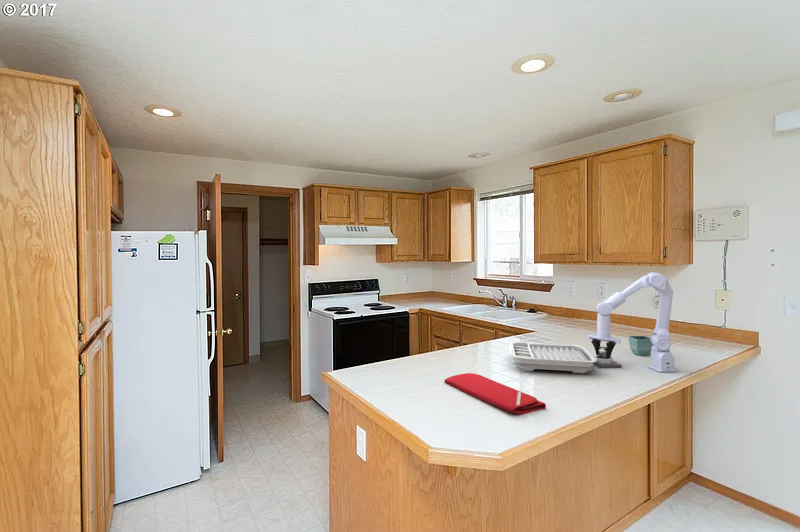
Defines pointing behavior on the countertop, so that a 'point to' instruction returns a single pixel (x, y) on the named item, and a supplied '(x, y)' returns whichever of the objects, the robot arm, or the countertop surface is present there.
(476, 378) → the red folded towel
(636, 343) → the flower pot
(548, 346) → the dish rack
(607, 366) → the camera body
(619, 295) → the robot arm
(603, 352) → the lens
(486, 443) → the countertop surface
